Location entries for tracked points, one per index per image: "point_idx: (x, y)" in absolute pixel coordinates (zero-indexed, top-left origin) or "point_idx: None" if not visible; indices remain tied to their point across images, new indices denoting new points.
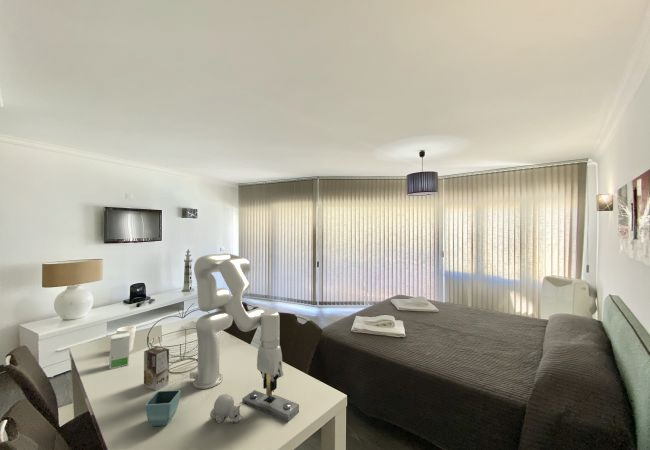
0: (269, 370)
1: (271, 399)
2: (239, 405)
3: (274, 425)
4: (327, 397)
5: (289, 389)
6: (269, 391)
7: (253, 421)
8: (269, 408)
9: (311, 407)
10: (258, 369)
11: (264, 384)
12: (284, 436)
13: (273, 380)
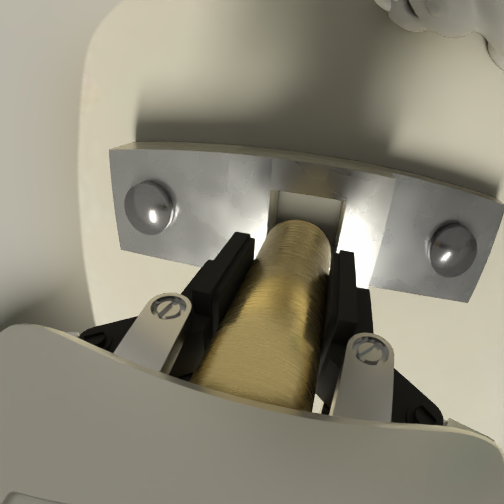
0: (39, 415)
1: None
2: (434, 4)
3: (175, 85)
4: None
5: None
6: (274, 240)
7: (312, 48)
8: (255, 153)
9: (124, 275)
10: (472, 449)
11: (337, 276)
12: (100, 65)
13: (151, 304)
